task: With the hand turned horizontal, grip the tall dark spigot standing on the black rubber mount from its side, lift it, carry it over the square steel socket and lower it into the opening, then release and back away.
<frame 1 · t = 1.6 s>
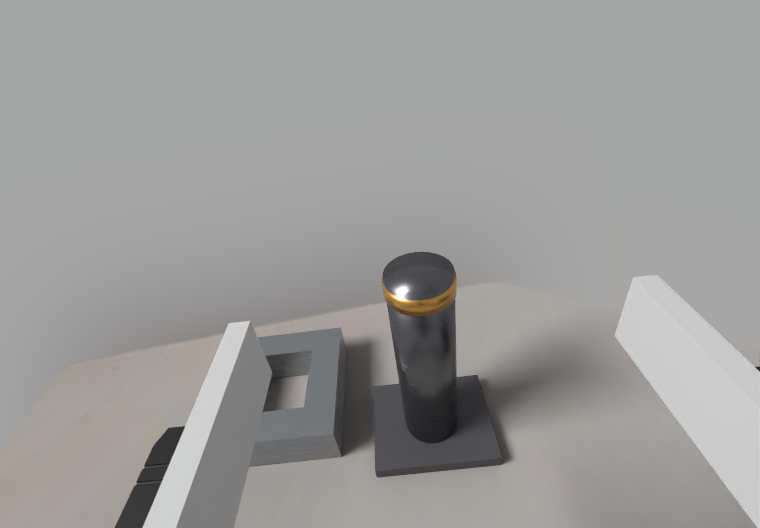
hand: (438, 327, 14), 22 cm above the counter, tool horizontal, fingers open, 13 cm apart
spigot: (431, 418, 33), point 1 cm above the counter, touching mount
mount: (431, 425, 34), on the counter
socket: (284, 403, 38), on the counter
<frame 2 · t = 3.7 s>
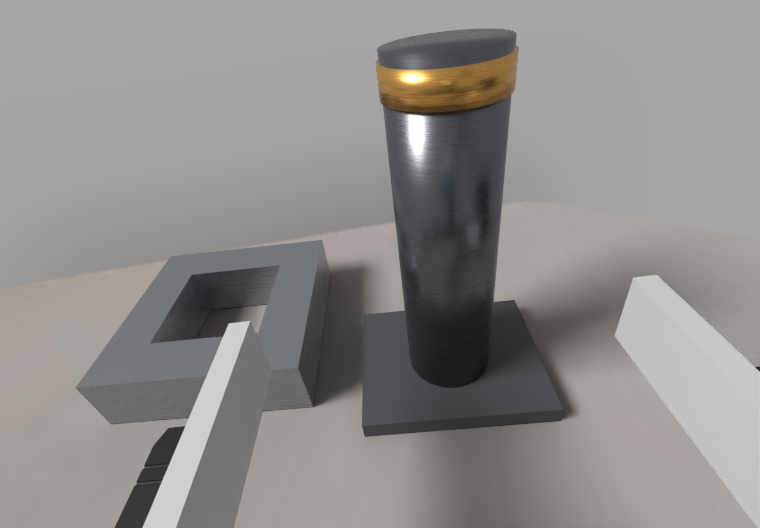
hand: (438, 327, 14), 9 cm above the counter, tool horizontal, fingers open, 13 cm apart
spigot: (448, 354, 22), point 1 cm above the counter, touching mount
mount: (448, 365, 23), on the counter
socket: (239, 337, 27), on the counter
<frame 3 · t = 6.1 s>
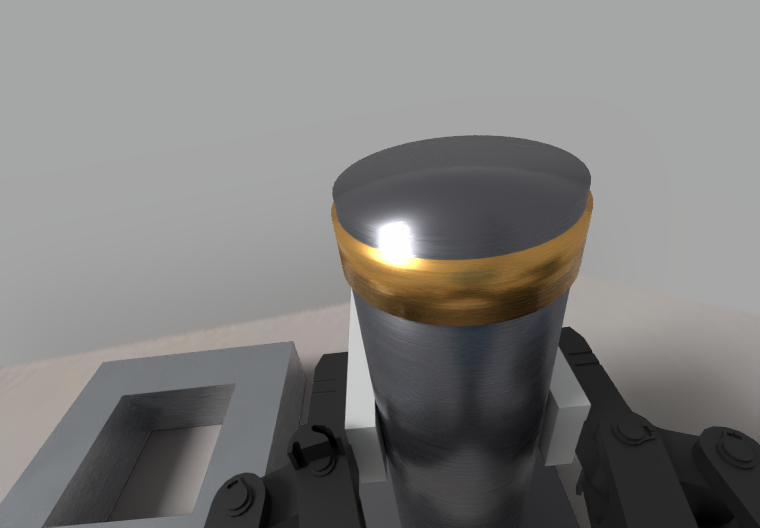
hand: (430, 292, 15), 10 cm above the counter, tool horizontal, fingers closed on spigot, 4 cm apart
socket: (182, 481, 20), on the counter
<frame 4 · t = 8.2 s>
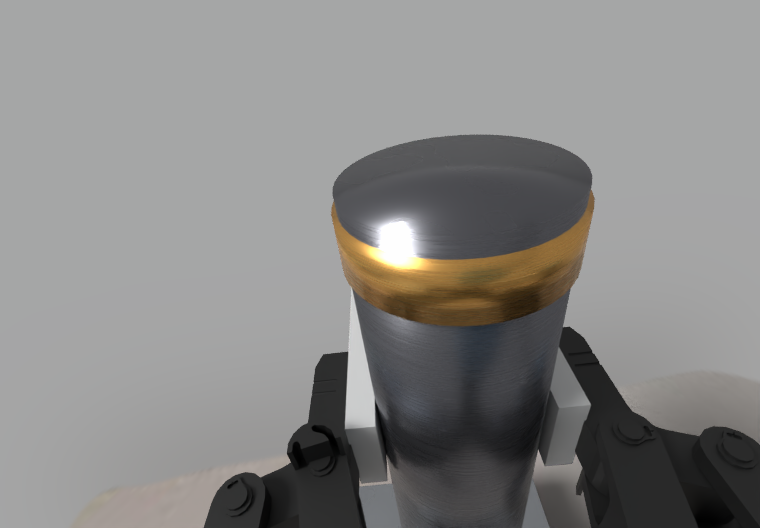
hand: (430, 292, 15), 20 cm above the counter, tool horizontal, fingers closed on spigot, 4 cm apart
when the fingers open (10 cm above the counter, at t = 10.7 s): spigot drops 2 cm, resting in socket.
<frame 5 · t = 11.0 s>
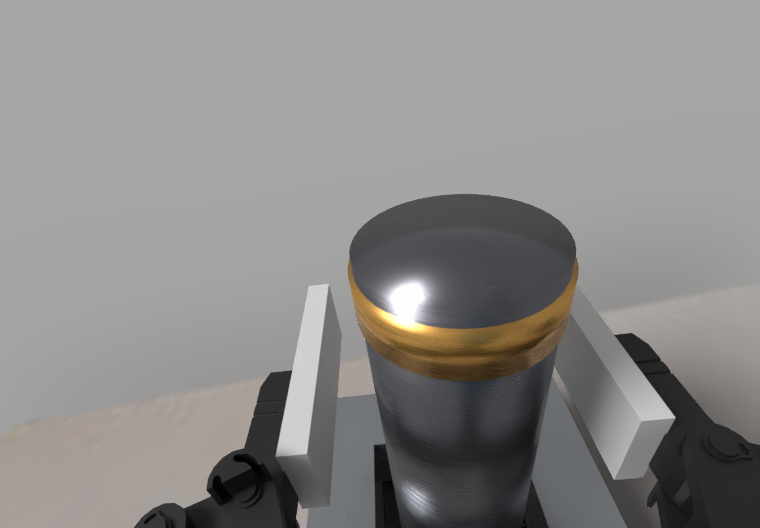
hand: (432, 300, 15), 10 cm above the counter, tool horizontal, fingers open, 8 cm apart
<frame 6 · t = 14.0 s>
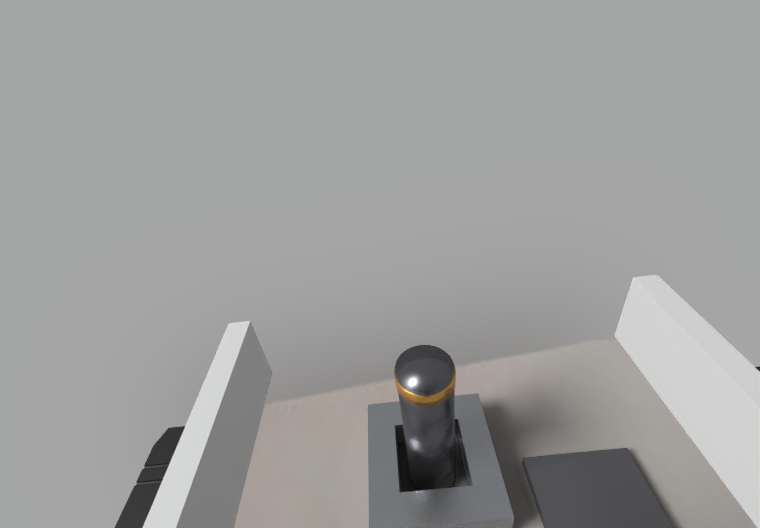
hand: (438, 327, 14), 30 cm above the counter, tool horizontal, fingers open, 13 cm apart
spigot: (432, 472, 38), resting in socket
mount: (592, 501, 35), on the counter
socket: (432, 471, 38), on the counter
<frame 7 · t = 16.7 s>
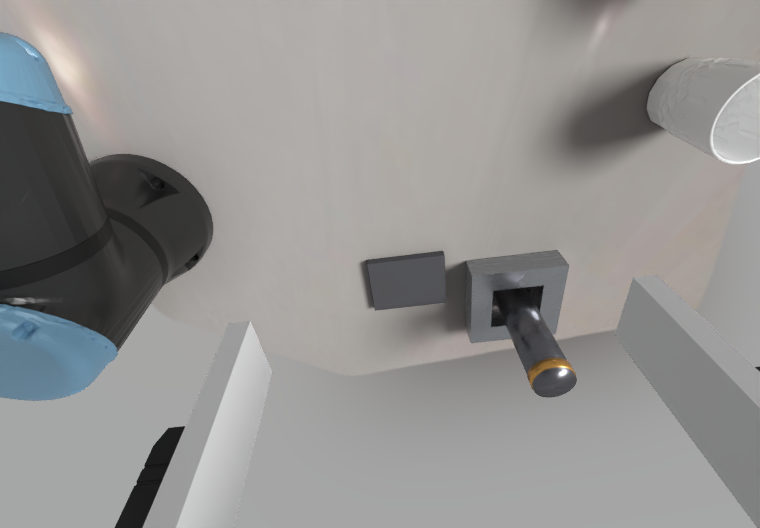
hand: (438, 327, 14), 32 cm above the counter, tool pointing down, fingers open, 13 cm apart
spigot: (508, 290, 54), resting in socket
mount: (407, 279, 52), on the counter
white cup: (678, 93, 40), on the counter
socket: (508, 290, 54), on the counter
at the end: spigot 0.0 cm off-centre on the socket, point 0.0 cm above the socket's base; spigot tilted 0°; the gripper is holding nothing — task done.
